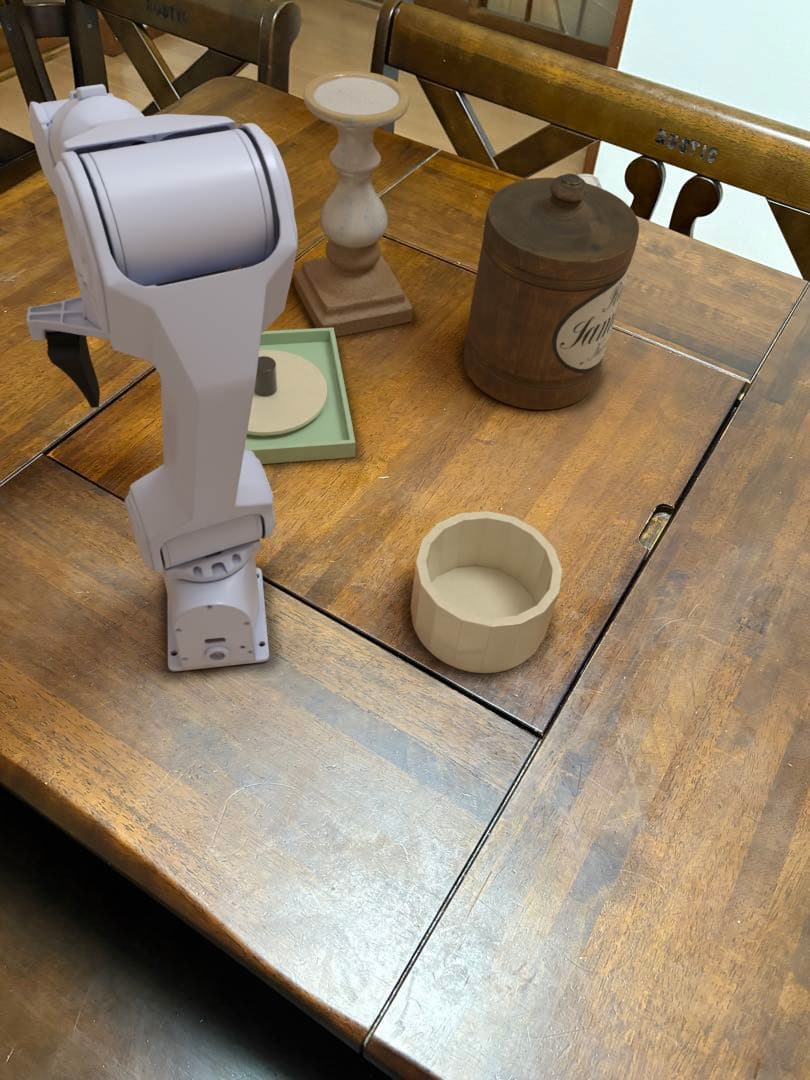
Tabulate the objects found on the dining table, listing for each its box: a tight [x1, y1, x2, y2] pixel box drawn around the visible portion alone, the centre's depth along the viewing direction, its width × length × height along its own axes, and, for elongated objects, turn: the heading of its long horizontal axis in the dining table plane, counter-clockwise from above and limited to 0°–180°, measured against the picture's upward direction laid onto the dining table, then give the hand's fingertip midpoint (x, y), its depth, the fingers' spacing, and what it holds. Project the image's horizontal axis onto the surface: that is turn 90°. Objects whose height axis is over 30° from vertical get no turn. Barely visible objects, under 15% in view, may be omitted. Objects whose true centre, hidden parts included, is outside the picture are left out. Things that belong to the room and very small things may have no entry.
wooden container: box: [463, 173, 640, 411], centre depth 92 cm, size 15×15×22 cm
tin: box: [409, 510, 563, 674], centre depth 76 cm, size 12×12×7 cm
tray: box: [244, 327, 357, 465], centre depth 93 cm, size 18×16×2 cm
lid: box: [247, 350, 328, 436], centre depth 92 cm, size 13×13×4 cm
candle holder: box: [293, 70, 413, 338], centre depth 97 cm, size 11×11×24 cm
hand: (141, 397), depth 80 cm, fingers open, 7 cm apart
